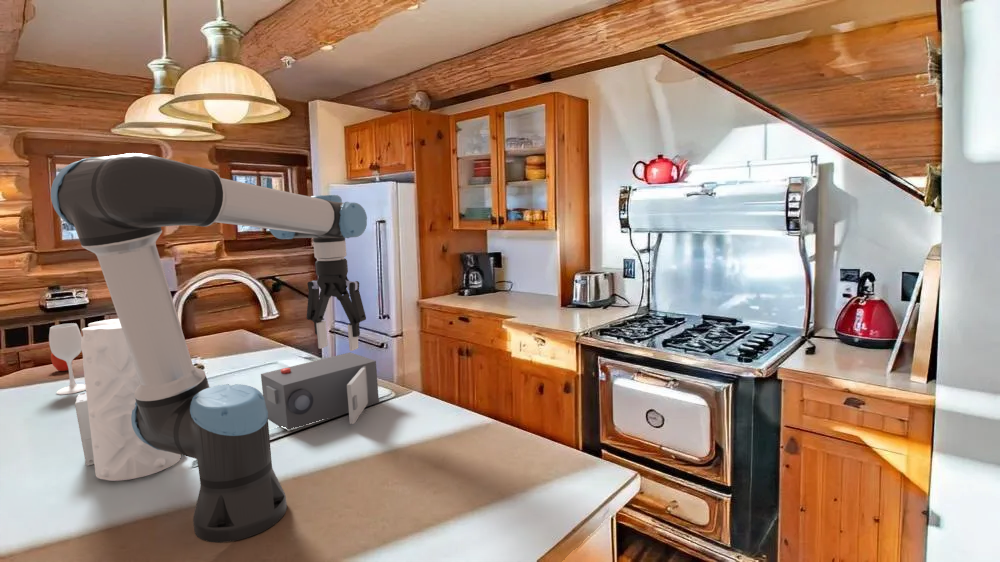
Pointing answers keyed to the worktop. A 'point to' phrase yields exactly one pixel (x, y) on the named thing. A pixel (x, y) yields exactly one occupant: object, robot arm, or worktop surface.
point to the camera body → (315, 389)
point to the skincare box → (84, 427)
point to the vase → (115, 406)
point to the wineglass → (66, 351)
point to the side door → (357, 394)
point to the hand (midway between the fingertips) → (338, 348)
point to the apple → (59, 363)
